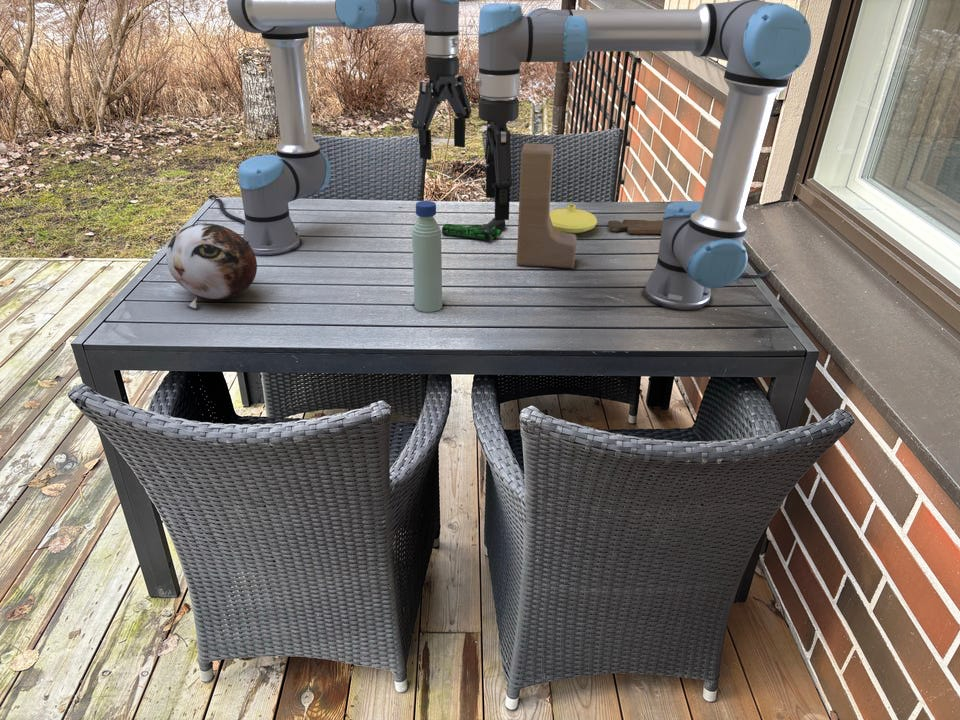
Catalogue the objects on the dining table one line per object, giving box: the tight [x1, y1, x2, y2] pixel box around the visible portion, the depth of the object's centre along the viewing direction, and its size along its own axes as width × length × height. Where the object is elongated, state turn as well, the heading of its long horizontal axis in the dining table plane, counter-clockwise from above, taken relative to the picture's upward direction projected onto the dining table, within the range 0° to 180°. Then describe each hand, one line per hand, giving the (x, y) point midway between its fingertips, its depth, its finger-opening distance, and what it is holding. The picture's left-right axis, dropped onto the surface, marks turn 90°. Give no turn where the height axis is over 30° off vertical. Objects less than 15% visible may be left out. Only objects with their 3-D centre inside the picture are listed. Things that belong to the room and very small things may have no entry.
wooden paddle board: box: [607, 219, 663, 235], centre depth 211 cm, size 26×2×10 cm
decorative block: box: [516, 142, 577, 269], centre depth 181 cm, size 8×15×30 cm, turn 82°
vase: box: [549, 203, 598, 234], centre depth 209 cm, size 16×16×7 cm
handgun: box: [441, 217, 506, 242], centre depth 207 cm, size 16×3×15 cm
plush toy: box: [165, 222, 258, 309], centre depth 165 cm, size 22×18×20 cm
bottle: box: [411, 216, 443, 313], centre depth 160 cm, size 6×6×24 cm
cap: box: [415, 200, 437, 217], centre depth 154 cm, size 4×4×2 cm
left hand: (443, 152), depth 168 cm, fingers open, 13 cm apart
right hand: (496, 208), depth 143 cm, fingers open, 13 cm apart
